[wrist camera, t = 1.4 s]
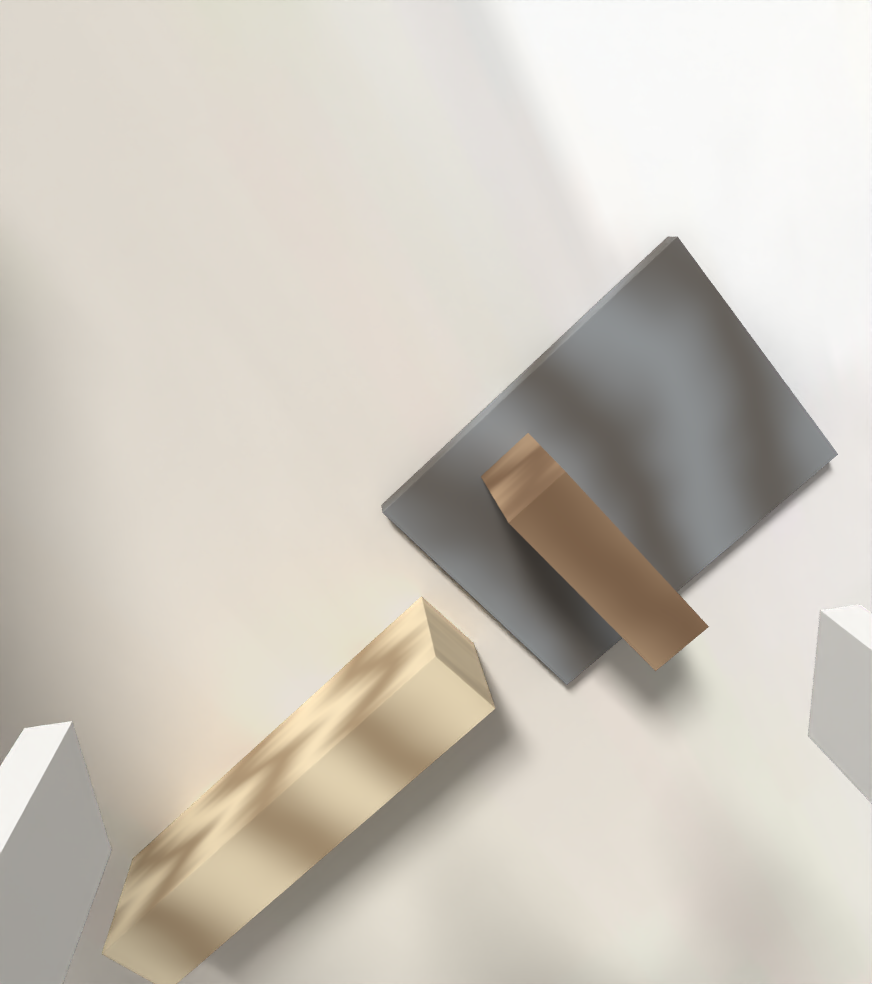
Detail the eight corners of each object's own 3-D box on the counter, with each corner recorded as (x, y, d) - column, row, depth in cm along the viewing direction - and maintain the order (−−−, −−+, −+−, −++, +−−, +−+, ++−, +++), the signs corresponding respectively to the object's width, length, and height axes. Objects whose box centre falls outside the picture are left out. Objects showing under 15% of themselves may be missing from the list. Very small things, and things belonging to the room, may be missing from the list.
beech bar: (190, 890, 42) (167, 991, 37) (134, 855, 41) (101, 954, 35) (472, 640, 39) (495, 708, 34) (420, 594, 38) (435, 656, 32)
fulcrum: (561, 674, 40) (605, 760, 34) (381, 505, 36) (391, 566, 29) (825, 448, 38) (928, 493, 31) (667, 236, 33) (749, 237, 27)
